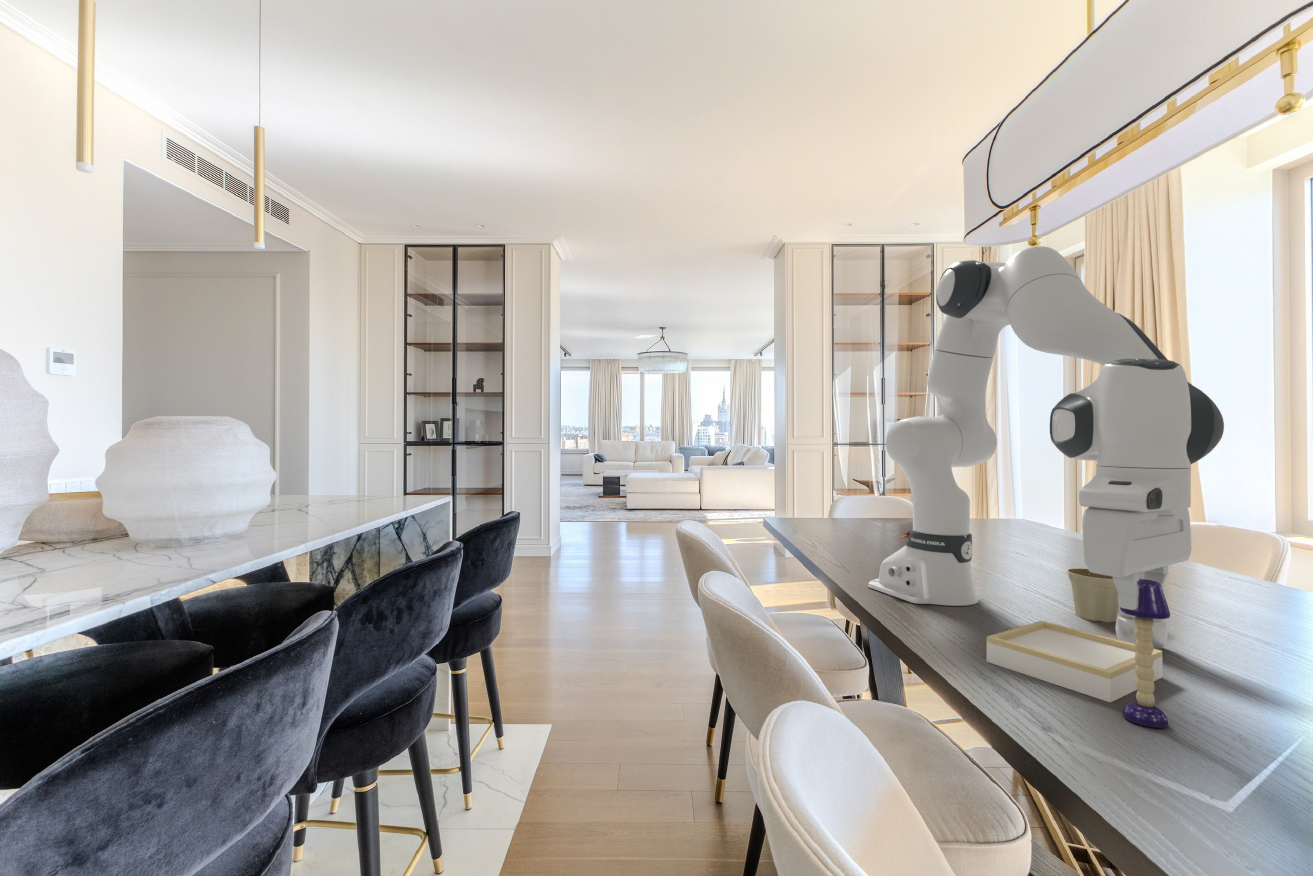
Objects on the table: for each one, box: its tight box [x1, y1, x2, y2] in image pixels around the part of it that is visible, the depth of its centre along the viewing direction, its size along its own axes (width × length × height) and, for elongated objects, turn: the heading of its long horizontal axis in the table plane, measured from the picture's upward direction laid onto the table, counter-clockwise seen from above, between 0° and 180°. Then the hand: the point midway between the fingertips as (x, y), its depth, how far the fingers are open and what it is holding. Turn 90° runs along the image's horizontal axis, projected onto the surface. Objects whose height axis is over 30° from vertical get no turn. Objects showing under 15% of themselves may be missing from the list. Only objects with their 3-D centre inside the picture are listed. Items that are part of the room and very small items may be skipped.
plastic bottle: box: [1114, 572, 1169, 650], centre depth 95 cm, size 6×7×20 cm
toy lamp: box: [1120, 579, 1171, 729], centre depth 70 cm, size 5×5×17 cm
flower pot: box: [1065, 567, 1119, 623], centre depth 111 cm, size 9×9×9 cm
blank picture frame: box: [986, 620, 1163, 703], centre depth 86 cm, size 16×16×4 cm
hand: (1140, 604), depth 70 cm, fingers closed on toy lamp, 5 cm apart
